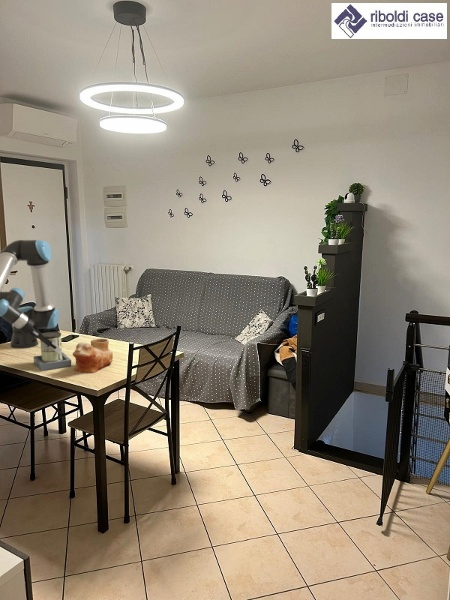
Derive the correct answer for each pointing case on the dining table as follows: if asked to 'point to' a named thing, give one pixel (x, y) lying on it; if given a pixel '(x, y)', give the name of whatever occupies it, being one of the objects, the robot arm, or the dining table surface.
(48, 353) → the coffee can
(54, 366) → the tray
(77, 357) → the ceramic vessel
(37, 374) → the dining table surface
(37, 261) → the robot arm
